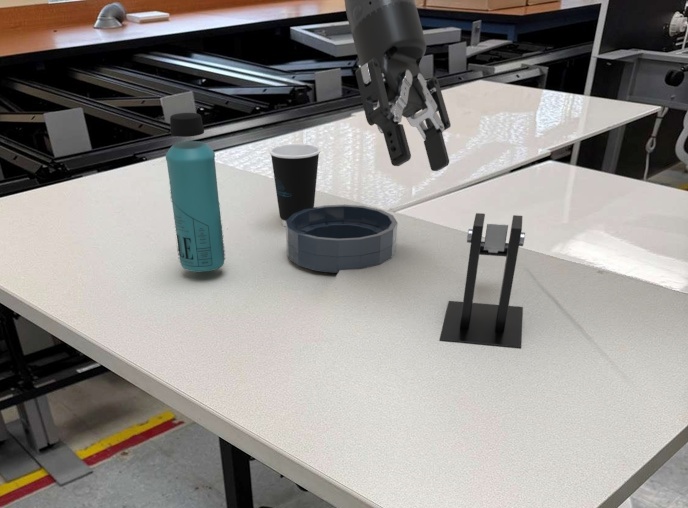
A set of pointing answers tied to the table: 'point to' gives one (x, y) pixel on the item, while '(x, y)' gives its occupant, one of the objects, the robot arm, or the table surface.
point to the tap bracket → (486, 319)
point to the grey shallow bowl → (340, 237)
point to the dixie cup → (294, 177)
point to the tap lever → (495, 240)
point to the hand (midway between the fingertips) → (422, 165)
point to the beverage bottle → (195, 197)
